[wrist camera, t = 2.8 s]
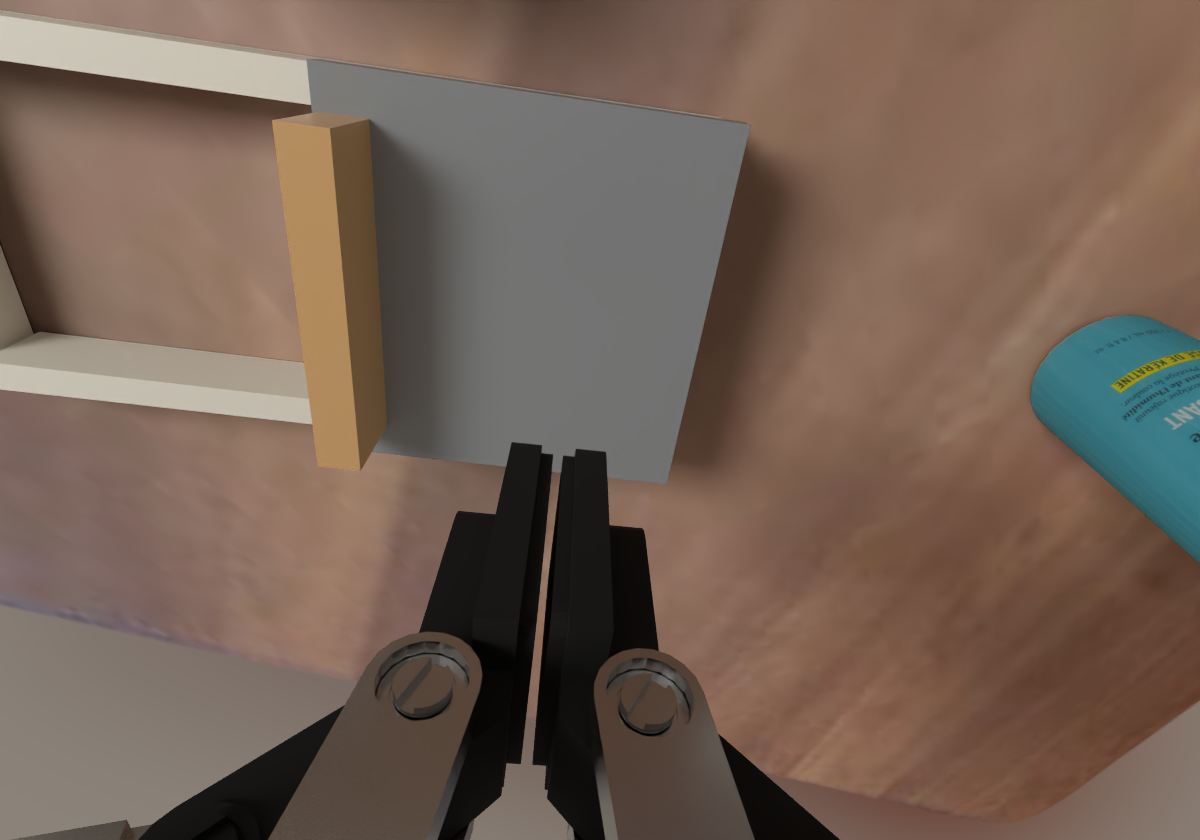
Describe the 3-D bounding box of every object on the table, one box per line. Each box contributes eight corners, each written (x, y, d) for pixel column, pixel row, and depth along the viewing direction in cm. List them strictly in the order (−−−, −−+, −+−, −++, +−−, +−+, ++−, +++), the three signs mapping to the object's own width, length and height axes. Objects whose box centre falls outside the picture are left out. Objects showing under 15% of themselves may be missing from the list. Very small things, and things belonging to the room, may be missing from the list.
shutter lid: (743, 122, 16) (775, 135, 13) (664, 470, 21) (673, 533, 18) (320, 59, 15) (253, 58, 12) (354, 436, 21) (315, 495, 18)
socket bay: (719, 117, 18) (735, 124, 16) (655, 426, 24) (660, 463, 22) (-133, -10, 17) (-242, -21, 14) (13, 352, 22) (-50, 383, 20)
